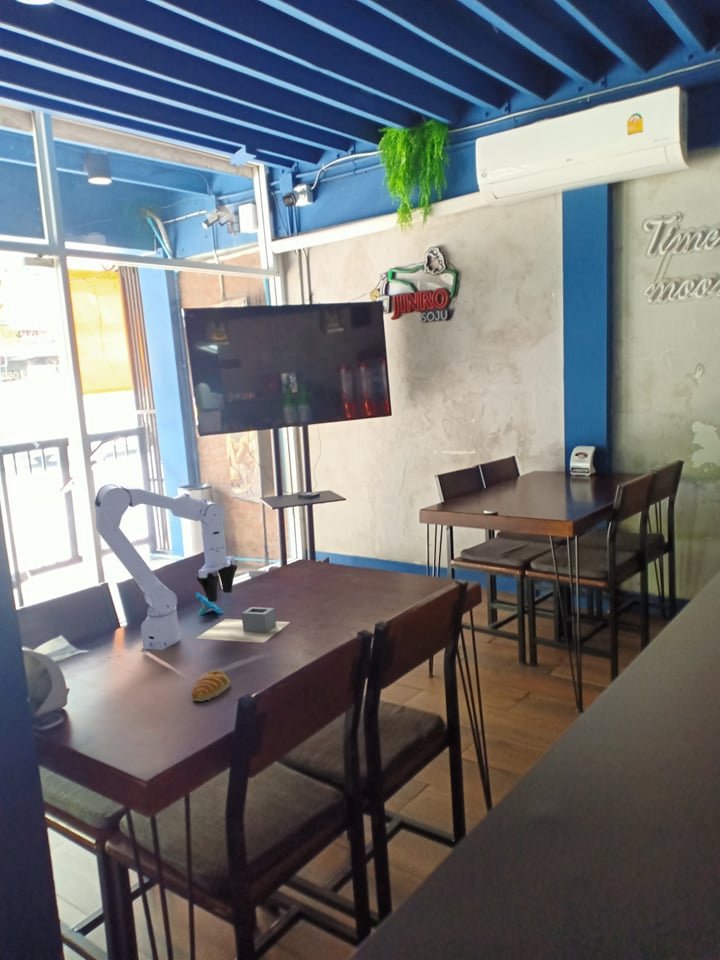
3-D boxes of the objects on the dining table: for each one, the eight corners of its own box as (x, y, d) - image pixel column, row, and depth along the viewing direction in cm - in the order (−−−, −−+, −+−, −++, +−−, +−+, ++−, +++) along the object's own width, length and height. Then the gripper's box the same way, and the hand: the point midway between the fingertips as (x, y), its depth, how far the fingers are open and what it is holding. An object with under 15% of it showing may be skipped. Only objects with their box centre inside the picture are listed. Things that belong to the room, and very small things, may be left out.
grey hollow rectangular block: (266, 632, 190) (265, 614, 190) (243, 631, 193) (241, 613, 192) (276, 626, 195) (274, 608, 194) (253, 624, 198) (251, 606, 197)
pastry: (212, 705, 153) (210, 687, 152) (184, 703, 155) (181, 686, 154) (233, 686, 162) (231, 669, 161) (205, 684, 164) (203, 668, 163)
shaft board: (264, 646, 184) (263, 642, 183) (195, 642, 191) (195, 638, 191) (290, 625, 197) (290, 622, 197) (226, 622, 205) (225, 618, 205)
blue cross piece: (226, 613, 207) (197, 592, 205) (213, 631, 206) (184, 610, 204) (224, 608, 218) (197, 587, 216) (211, 624, 217) (184, 604, 215)
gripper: (212, 554, 187) (218, 605, 189) (241, 540, 200) (246, 588, 202) (189, 553, 189) (195, 604, 191) (219, 540, 203) (224, 588, 205)
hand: (220, 596), depth 197 cm, fingers open, 7 cm apart
